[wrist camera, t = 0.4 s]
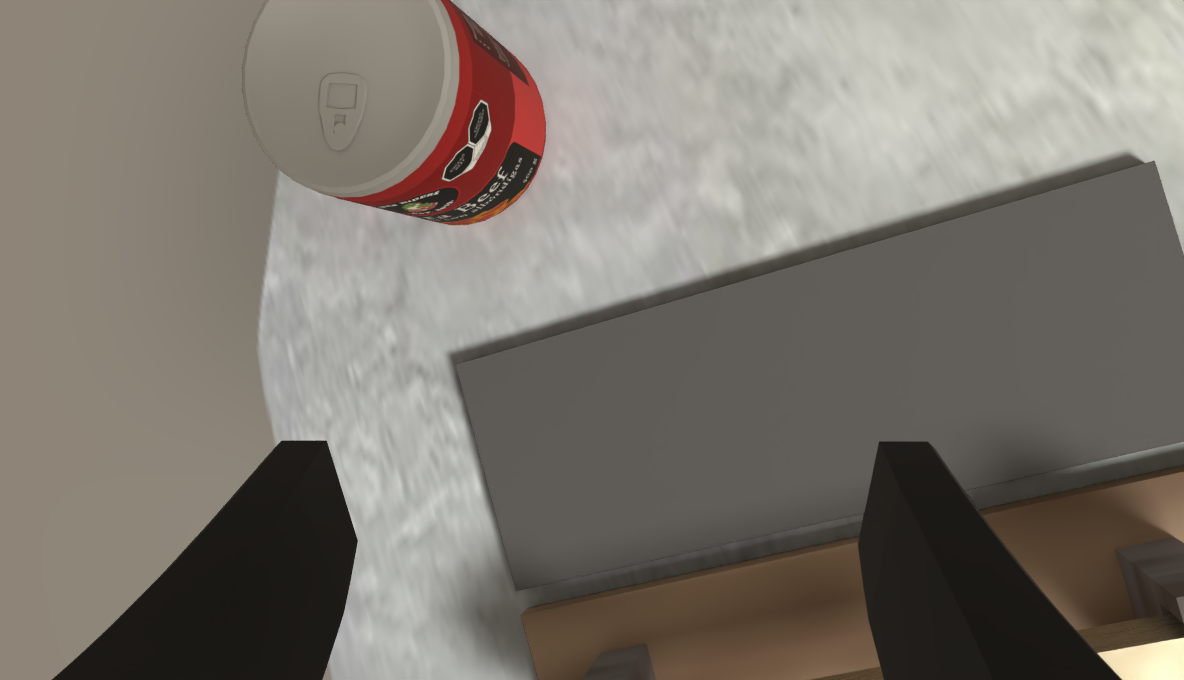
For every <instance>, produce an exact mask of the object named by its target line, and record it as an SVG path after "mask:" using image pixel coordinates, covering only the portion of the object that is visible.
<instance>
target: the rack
mask: <svg viewBox="0 0 1184 680" xmlns="http://www.w3.org/2000/svg"><path fill="white" fill-rule="evenodd" d="M979 511H980V513H981V514H982V515H983V517H984V518H985V519H986V521H987V522H988V523H989V525H990V526H991V527H992V529H993V530H994V531H995V533H996V534H997V535H998V536H999V538H1000V539H1001V540H1002V542H1003V543H1004V544H1005V545H1006V547H1007V548H1008V549H1009V551H1010V552H1011V553H1012V554H1013V555H1014V557H1015V558H1016V559H1017V560H1018V562H1019V563H1020V564H1021V565H1022V567H1023V568H1024V569H1025V570H1026V572H1027V573H1028V574H1029V575H1030V576H1031V578H1032V579H1033V580H1034V581H1035V583H1036V584H1037V585H1038V586H1039V588H1040V589H1041V590H1042V591H1043V592H1044V594H1045V595H1046V596H1047V597H1048V598H1049V599H1050V601H1051V602H1052V603H1053V604H1054V605H1055V606H1056V608H1057V609H1058V610H1059V611H1060V612H1061V614H1062V615H1063V616H1064V617H1065V618H1066V619H1067V620H1068V621H1069V622H1070V624H1071V625H1072V626H1073V627H1074V628H1075V629H1076V630H1082V629H1087V628H1093V627H1098V626H1104V625H1109V624H1114V623H1120V622H1125V621H1131V620H1136V619H1142V618H1147V617H1153V616H1158V615H1163V614H1169V613H1172V614H1173V615H1174V616H1175V617H1177V618H1178V619H1179V620H1180V621H1181V622H1182V623H1184V465H1183V466H1178V467H1174V468H1169V469H1164V470H1160V471H1155V472H1151V473H1146V474H1141V475H1137V476H1132V477H1128V478H1123V479H1119V480H1114V481H1109V482H1105V483H1100V484H1096V485H1091V486H1086V487H1082V488H1077V489H1073V490H1068V491H1064V492H1059V493H1054V494H1050V495H1045V496H1041V497H1036V498H1032V499H1027V500H1022V501H1018V502H1013V503H1009V504H1004V505H999V506H995V507H990V508H986V509H981V510H979ZM859 537H860V536H857V537H853V538H848V539H844V540H839V541H834V542H830V543H825V544H821V545H816V546H812V547H807V548H802V549H798V550H793V551H789V552H784V553H779V554H775V555H770V556H766V557H761V558H757V559H752V560H747V561H743V562H738V563H734V564H729V565H724V566H720V567H715V568H711V569H706V570H702V571H697V572H692V573H688V574H683V575H679V576H674V577H669V578H665V579H660V580H656V581H651V582H647V583H642V584H637V585H633V586H628V587H624V588H619V589H614V590H610V591H605V592H601V593H596V594H592V595H587V596H582V597H578V598H573V599H569V600H564V601H559V602H555V603H550V604H546V605H541V606H537V607H532V608H528V609H527V610H526V611H525V612H524V613H523V614H522V615H521V618H522V622H523V625H524V629H525V633H526V637H527V640H528V644H529V648H530V652H531V655H532V659H533V663H534V667H535V670H536V674H537V678H538V680H810V679H815V678H821V677H826V676H832V675H837V674H842V673H848V672H853V671H859V670H864V669H870V668H875V667H880V663H879V659H878V655H877V651H876V647H875V644H874V640H873V636H872V632H871V628H870V624H869V620H868V614H867V607H866V601H865V594H864V587H863V580H862V573H861V565H860V558H859V550H858V542H859Z"/></svg>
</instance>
